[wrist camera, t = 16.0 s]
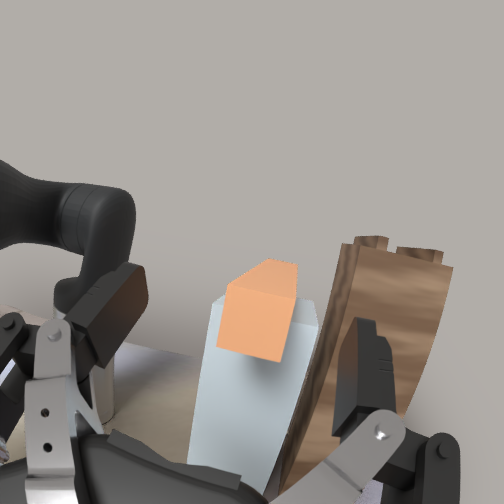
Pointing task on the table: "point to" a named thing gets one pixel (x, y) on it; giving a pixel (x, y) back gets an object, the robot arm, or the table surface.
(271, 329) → the beam
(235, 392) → the short post
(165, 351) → the table surface
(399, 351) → the tall post
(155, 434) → the table surface
